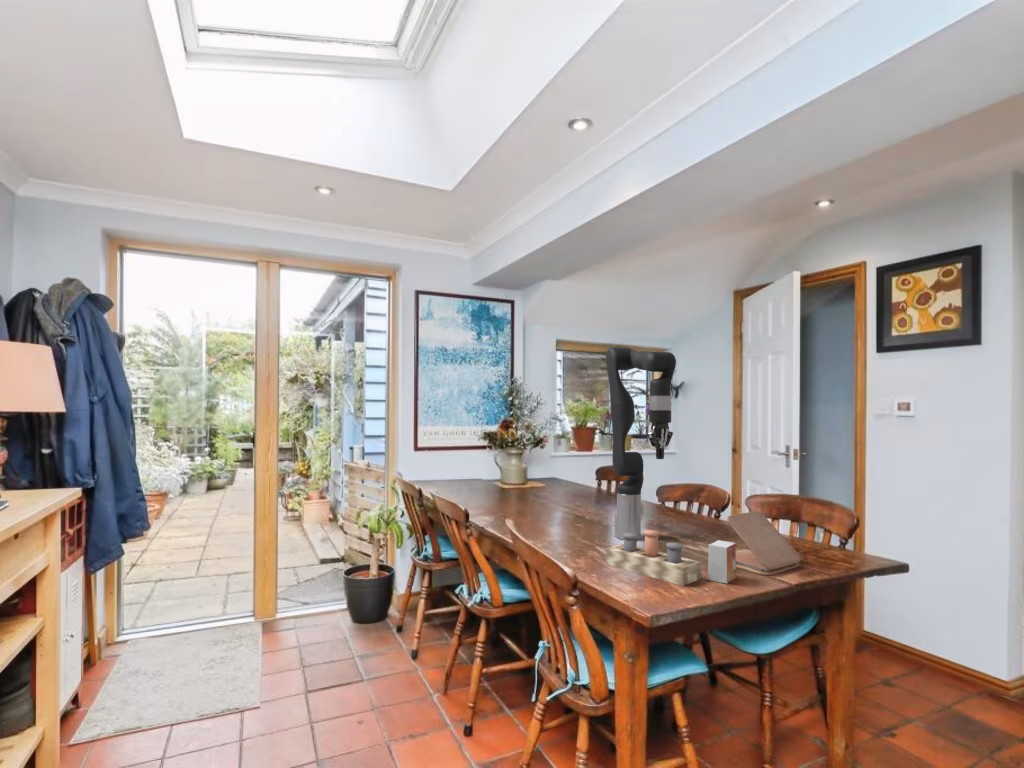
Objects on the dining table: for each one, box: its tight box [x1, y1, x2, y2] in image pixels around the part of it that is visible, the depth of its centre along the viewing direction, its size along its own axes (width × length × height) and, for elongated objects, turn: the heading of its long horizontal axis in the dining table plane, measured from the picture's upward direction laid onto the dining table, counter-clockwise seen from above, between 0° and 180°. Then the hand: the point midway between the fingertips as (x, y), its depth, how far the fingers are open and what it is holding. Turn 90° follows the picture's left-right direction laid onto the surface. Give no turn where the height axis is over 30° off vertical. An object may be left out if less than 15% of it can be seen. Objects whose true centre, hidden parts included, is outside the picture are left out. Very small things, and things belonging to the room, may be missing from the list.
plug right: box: [665, 542, 683, 564], centre depth 165 cm, size 5×5×10 cm
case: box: [726, 511, 802, 577], centre depth 181 cm, size 20×21×16 cm
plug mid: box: [643, 529, 660, 558], centre depth 171 cm, size 5×5×10 cm
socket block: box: [605, 543, 702, 587], centre depth 171 cm, size 28×10×5 cm, turn 41°
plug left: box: [623, 533, 638, 552], centre depth 177 cm, size 5×5×10 cm
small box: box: [707, 539, 737, 585], centre depth 164 cm, size 8×6×10 cm
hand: (659, 459), depth 191 cm, fingers closed
